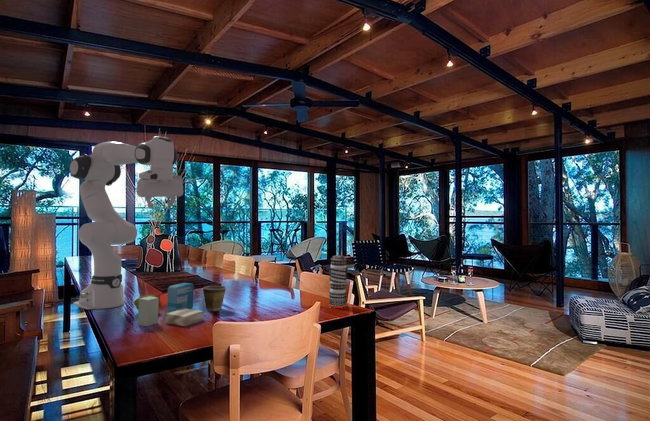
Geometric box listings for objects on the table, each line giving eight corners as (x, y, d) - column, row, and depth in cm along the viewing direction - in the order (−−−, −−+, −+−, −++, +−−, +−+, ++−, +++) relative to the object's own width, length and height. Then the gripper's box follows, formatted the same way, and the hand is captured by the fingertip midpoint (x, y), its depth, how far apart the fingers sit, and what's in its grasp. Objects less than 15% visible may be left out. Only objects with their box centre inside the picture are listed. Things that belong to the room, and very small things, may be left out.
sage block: (137, 324, 144) (138, 298, 144) (148, 321, 148) (149, 296, 148) (147, 326, 142) (148, 300, 142) (157, 322, 146) (158, 297, 146)
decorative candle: (344, 309, 176) (345, 257, 177) (325, 307, 179) (327, 256, 179) (348, 305, 185) (349, 255, 185) (330, 303, 188) (332, 254, 188)
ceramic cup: (228, 310, 169) (228, 288, 169) (206, 313, 163) (206, 290, 163) (218, 304, 179) (219, 283, 179) (197, 306, 174) (198, 285, 174)
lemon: (163, 312, 163) (164, 293, 163) (151, 316, 155) (152, 297, 155) (142, 310, 165) (143, 292, 165) (129, 314, 157) (130, 295, 158)
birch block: (165, 323, 147) (165, 313, 147) (183, 317, 156) (184, 308, 156) (184, 327, 143) (185, 316, 143) (202, 320, 152) (203, 311, 152)
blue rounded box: (175, 315, 158) (176, 287, 158) (166, 314, 159) (167, 286, 160) (193, 309, 169) (194, 282, 170) (185, 308, 171) (185, 282, 171)
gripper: (178, 174, 168) (176, 204, 170) (135, 173, 150) (133, 207, 152) (187, 176, 164) (185, 206, 166) (144, 175, 147) (143, 209, 149)
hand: (160, 206), depth 159 cm, fingers open, 8 cm apart
